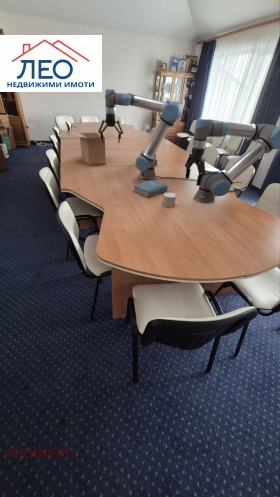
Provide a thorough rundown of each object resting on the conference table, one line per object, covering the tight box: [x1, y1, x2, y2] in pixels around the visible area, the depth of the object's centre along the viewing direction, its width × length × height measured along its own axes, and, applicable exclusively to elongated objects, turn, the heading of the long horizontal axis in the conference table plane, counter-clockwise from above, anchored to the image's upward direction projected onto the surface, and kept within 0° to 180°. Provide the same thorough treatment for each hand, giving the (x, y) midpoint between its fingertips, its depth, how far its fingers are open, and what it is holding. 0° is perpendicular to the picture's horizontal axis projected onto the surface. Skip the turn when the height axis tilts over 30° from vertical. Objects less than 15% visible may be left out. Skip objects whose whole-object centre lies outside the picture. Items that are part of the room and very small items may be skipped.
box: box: [70, 129, 114, 166], centre depth 229 cm, size 44×36×27 cm
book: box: [133, 179, 169, 198], centre depth 177 cm, size 23×16×5 cm
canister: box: [162, 192, 177, 208], centre depth 158 cm, size 9×9×8 cm
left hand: (110, 142), depth 186 cm, fingers open, 13 cm apart
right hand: (192, 181), depth 147 cm, fingers open, 13 cm apart
